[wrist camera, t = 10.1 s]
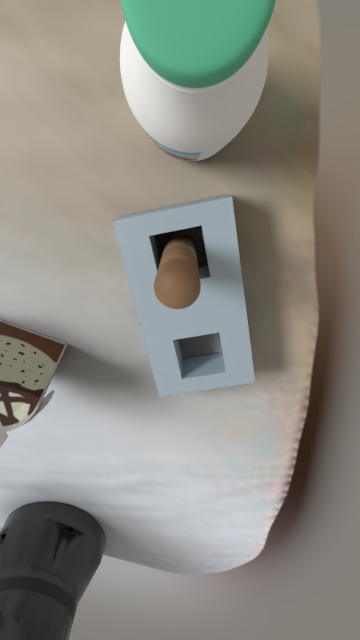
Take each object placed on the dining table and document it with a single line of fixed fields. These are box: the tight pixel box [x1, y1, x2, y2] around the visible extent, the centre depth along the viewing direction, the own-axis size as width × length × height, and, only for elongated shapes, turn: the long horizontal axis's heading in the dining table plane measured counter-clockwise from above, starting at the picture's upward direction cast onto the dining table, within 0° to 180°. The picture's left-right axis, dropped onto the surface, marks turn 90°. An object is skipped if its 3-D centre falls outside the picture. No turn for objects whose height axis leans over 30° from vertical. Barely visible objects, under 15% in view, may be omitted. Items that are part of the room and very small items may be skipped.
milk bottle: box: [120, 0, 276, 161], centre depth 18 cm, size 8×8×20 cm
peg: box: [154, 234, 201, 309], centre depth 26 cm, size 3×3×12 cm
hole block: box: [112, 194, 255, 397], centre depth 32 cm, size 18×10×4 cm, turn 11°
